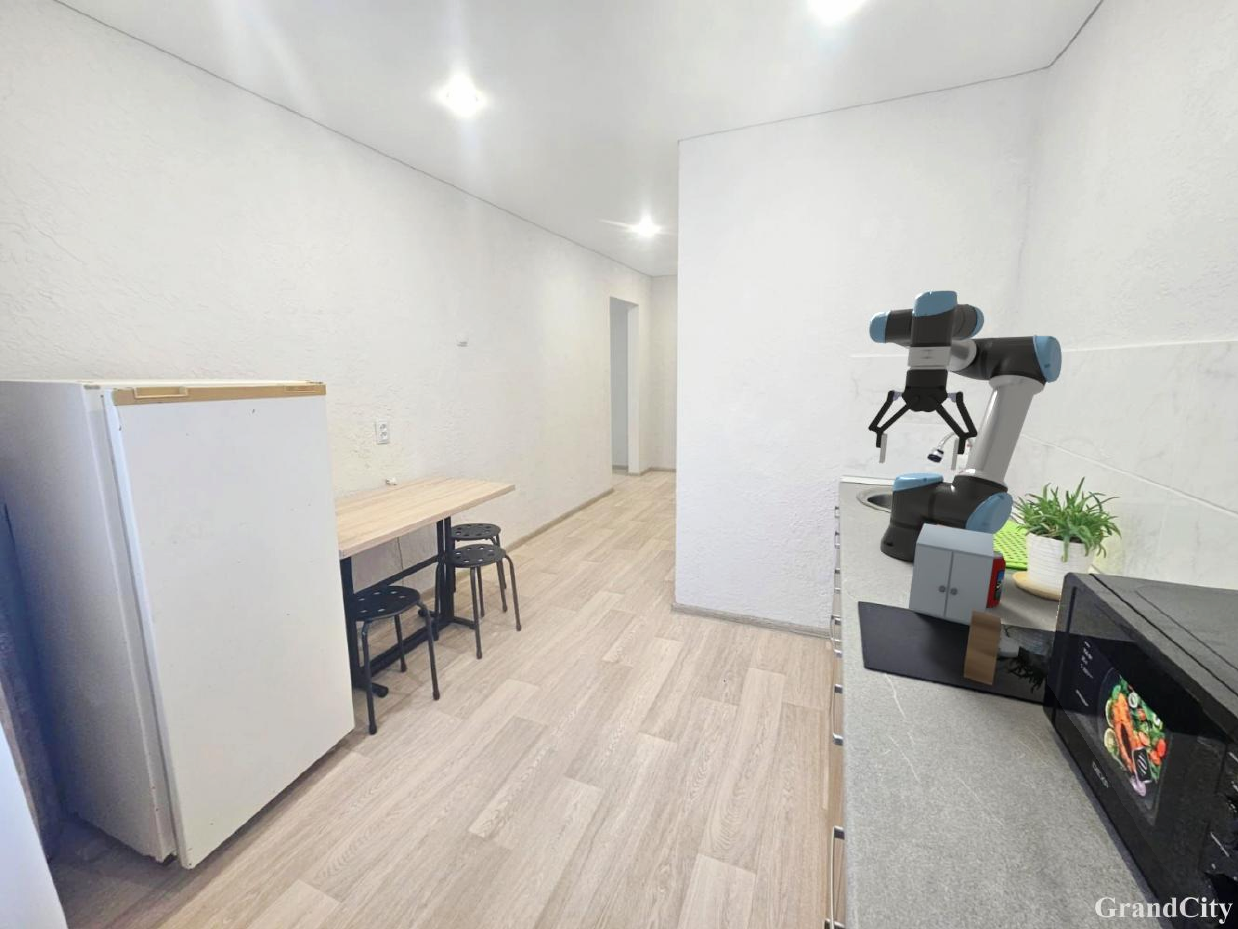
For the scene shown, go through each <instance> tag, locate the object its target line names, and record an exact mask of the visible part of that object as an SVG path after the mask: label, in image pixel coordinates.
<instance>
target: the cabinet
mask: <svg viewBox="0 0 1238 929" xmlns="http://www.w3.org/2000/svg"><path fill="white" fill-rule="evenodd" d="M994 535H995V534H989V533H983V532H977V531H970V530H964V529H958V528H951V527H946V526H942V525H938V524H937V525H932V524H926V523H924V525H923V527H922V530H921V532H920V535H919V537H918V540H917V542H916V550H915V558H914V561H913V566H912V567H913V570H912V577H911V585H910V586H911V587H910V594H909V602H908V609H909V610H912V612H914V613H917V614H918V613H919V614H923V615H926V616H931V617H934V618H937V619H938V618H939V619H942V620H946V621H949V622H954V623H957V624H962V625H966V626H969V627H970V624H971V617H972V611H977V612H981V613H985V614H986V609H987V607H986V604H987V597H988V591H989V584H990V578H991V571H992V565H993V558H994V550H995V542H994V538H995V536H994Z"/></svg>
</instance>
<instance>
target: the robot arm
mask: <svg viewBox="0 0 1238 929" xmlns="http://www.w3.org/2000/svg"><path fill="white" fill-rule="evenodd" d="M984 324H985V316H984V313H983V311H982V309H980V308H979V307H977V306H974V305H972V304H968V303H963V304H962V303H961V304H960V303H958V293H957V292H956V291H955V290H933V291H926V292H925V291H924V292H921V293H919V294H917V295H916V296H915V298H914V304H913V308H905V309H894V310H892V309H889V310H886V311H879V312H877V313H875V314H874V315H873V317H872V318H871V320H870V324H869V328H868V329H869V330H868V332H869V333H868V334H869V336H870V339H871V340H872V342H874V343H877V344H882V343H883V344H888V343H890V344H891V343H892V344H895V345H898V346H900V347H902V348H905V349H908V356H907V357H908V358H907V367H908V368H909V367H910V368H909V369H908V370H906V375H905V382H904V383H905V385H904V389H903V391H899V390H898V391H897V390H894V389H891V390H888V392H887V396H886V400H885V402H884V403H883V405H882V406H881V407H880V409H879V410H878V412H877V414H876V415H875V416H874V418H873V419H872V421H871V422H870V424H869V426H868V427H867V428H868V431H870V432H874V433H875V434H876V439H875V447H876V448H877V449H879V462H878V463H879V464H884V463H885V462H886V456H887V455H886V454H887V453H886V452H887V444H888V443H887V442H888V435H889V434H888V433H887V432H886V430H888V429H889V428H890V427H891V426H892V425H894V423H895V422H897V421H898V420H899V419H900V418H901V417H902V416H904V414H906V413H907V412H908V411H909V410H910V411H912V412H914V413H919V412H920V413H921V412H924V413H933V412H934V411H936V413H937V414H938V415H939V416H940V417H941V419H943V421H944V422H945V423H946V424H947V425H948V426H949V428H950V429H951V431H953V432H954V434H955V435H956V436H957V437H955V438H954V443H953V452H952V458H951V465H950V466H951V467H950V470H951V471H956V469H957V461H958V455H961V456H962V455H964V454H965V451H966V443H967V440H968V439H972V438H975V439H974V442H973V445H972V447H971V450H970V453H969V455H968V458H967V461H966V464H965V467H964V469H963V471H962V472H959V473H957V474H955V475H954V477H953V479H952V483H951V482H946V481H945V480H944V476H943V475H942V474H938V473H933V472H932V473H931V472H930V473H928V472H914V473H903V474H900V475H897V476H896V477H895V479H894V481H893V486H892V490H891V493H892V494H891V504H890V515H889V523H888V526H887V527H886V529H885V532H884V533H883V536H882V537H881V540H880V544H879V548H880V550H881V552H882V553H884V554H886V555H888V556H890V557H893V558H896V559H899V560H903V561H907V562H914V558H915V550H916V542H917V540H918V537H919V535H920V532H921V530H922V527H923V525H924V523H926V524H932V525H938V526H945V527H951V528H958V529H964V530H970V531H977V532H983V533H989V534H994V535H996V534H997V533H998V532H999V531H1001V530H1002V529H1003V528H1004V526H1005V525H1006V524H1007V522H1008V520H1009V518H1010V517H1011V514H1012V511H1013V510H1012V509H1013V508H1012V507H1013V506H1014V500H1013V496H1012V495H1011V494H1009V493H1008V490H1009V487H1008V485H1007V484H1006V483H1005V481H1004V480H1005V477H1006V474H1007V471H1008V468H1009V466H1010V463H1011V460H1012V457H1013V454H1014V452H1015V448H1016V446H1017V443H1018V440H1019V438H1020V434H1021V432H1022V429H1023V426H1024V424H1025V421H1026V417H1027V415H1028V412H1029V410H1030V406H1031V404H1032V400H1033V398H1034V396H1035V395H1038V394H1040V393H1042V392H1043V391H1044V390H1045V386H1046V383H1049V384H1050V383H1054V382H1056V381H1057V380H1058V378H1059V377H1060V374H1061V369H1062V363H1063V362H1062V358H1063V357H1062V347H1061V345H1060V341H1059V340H1058V339H1057V338H1056V337H1055V336H1053V335H1037V334H1034V335H1028V336H1026V335H1025V336H1003V337H1000V336H999V337H983V338H982V337H981V338H980V337H979V338H973V337H975V336H976V335H977V334H979V333H980V332H981V331H982V329H983V327H984ZM949 373H953V374H956V375H958V376H961V377H964V378H968V379H972V380H978V381H988V385H989V387H991V389H992V390H991V394H990V397H989V400H988V402H987V405H986V408H985V411H984V414H983V416H982V420H981V422H980V425H979V427H978V430H977V428H976V426H975V423H974V421H973V420H972V418H971V416H970V412H969V411H968V408H967V407H966V404H965V402H964V392H963V391H961V390H959V391H954V392H948V390H947V386H948V375H949ZM900 398H902V400H903V401H904V403H905V404H904V405H903V406H902V407H901V408H900V409H899V410H898V411H897V412H895V414H893V415H892V416H891V417H890V418H888V419H887V420H886V421H885V423H883V424H882V425H881V426H879V424H880V422H881V421H882V420H883V418H884V417H885V415H886V414H887V412H888V410H890V408H891V407H892V405H893V403H894V402H895V401H898V399H900ZM947 399H950V400H951V402H952V403H954V404H955V406H956V408H957V410H958V411H959V412H958V413H959V414H960V417H961V418H962V420H963V422H964V425H965V427H966V429H967V431H966V432H965V431H964V429H963V428H962V427H961V426H960V425H959V424H958V423H957V422H956V420H955V419H954V418H953V416H952V415H951V414H950V413H949V412H948V411H947V409H946V408H945V407H944V406H943V405H942V404H944V402H945V401H946V400H947ZM885 432H886V433H885Z"/></svg>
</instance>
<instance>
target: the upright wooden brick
mask: <svg viewBox="0 0 1238 929" xmlns="http://www.w3.org/2000/svg"><path fill="white" fill-rule="evenodd" d="M968 632H969V633H968V638H967V646H966V653H965V658H964V665H963V667H964V668H963V678H966V679H970V680H973V681H976V682H979V683H983V684H987V685H989V686H993V683H994V676H995V670H996V664H997V657H998V655H997V652H998V646H999V640H1000V635H1002V634H1001V633H1002V617H1001V616H997V615H993V614H989V613H986V612H985V613H981V612H977V611H972V617H971V624H970V626H969V631H968Z"/></svg>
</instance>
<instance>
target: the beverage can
mask: <svg viewBox="0 0 1238 929" xmlns="http://www.w3.org/2000/svg"><path fill="white" fill-rule="evenodd" d="M1006 566H1007V562H1006V559H1005V558H1004V554H1003V553H1002V552H1000V551H997V550H995V549H994V558H993V565H992V571H991V578H990V584H989V591H988V597H987V604H986V608H990V607H994V606H998V605H999V604H1000V603H1001V597H1002V592H1003V585H1004V579H1005V572H1006Z"/></svg>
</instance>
